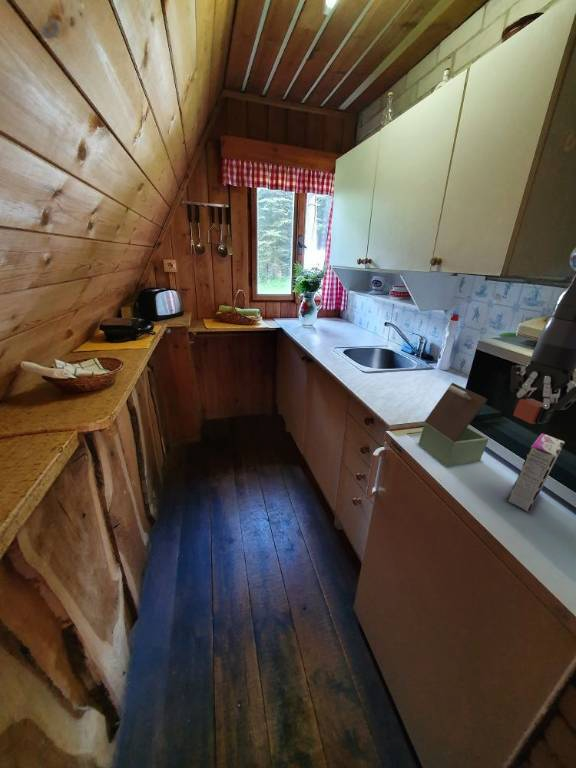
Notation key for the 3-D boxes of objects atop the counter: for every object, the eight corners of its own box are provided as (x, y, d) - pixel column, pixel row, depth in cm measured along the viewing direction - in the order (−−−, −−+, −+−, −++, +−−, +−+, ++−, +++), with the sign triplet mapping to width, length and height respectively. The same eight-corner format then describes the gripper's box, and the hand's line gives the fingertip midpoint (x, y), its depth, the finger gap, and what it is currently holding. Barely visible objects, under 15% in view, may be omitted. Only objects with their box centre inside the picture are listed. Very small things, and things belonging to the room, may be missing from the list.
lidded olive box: (449, 440, 103) (457, 419, 100) (480, 460, 93) (488, 438, 90) (418, 444, 98) (424, 423, 95) (446, 466, 88) (454, 443, 85)
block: (524, 414, 70) (531, 398, 69) (542, 422, 67) (550, 406, 65) (512, 415, 69) (519, 399, 67) (531, 424, 65) (538, 407, 64)
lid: (453, 383, 93) (444, 376, 90) (487, 399, 83) (478, 392, 80) (425, 422, 95) (416, 417, 93) (455, 442, 85) (445, 437, 83)
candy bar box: (517, 484, 84) (541, 432, 78) (539, 494, 80) (566, 441, 74) (505, 500, 77) (530, 445, 71) (528, 513, 73) (557, 456, 67)
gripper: (616, 353, 57) (574, 433, 63) (536, 334, 69) (508, 403, 75) (593, 353, 54) (552, 436, 60) (514, 333, 66) (487, 404, 72)
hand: (528, 417), depth 68 cm, fingers closed on block, 4 cm apart
